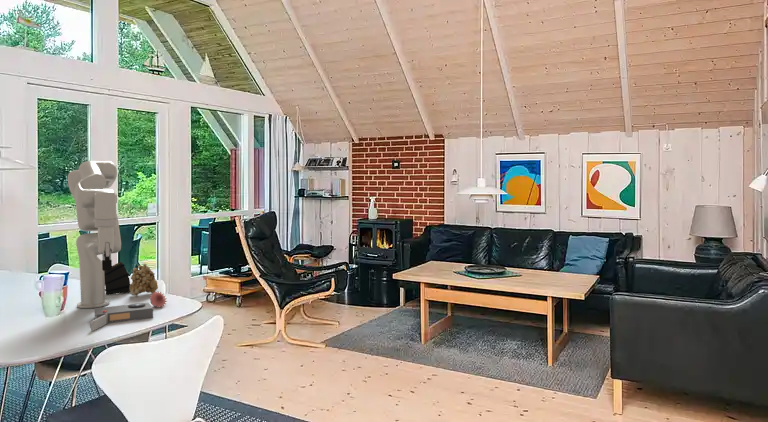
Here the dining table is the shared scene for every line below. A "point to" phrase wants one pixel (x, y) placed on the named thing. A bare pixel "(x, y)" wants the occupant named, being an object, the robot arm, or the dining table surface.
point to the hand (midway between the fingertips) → (107, 270)
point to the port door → (99, 322)
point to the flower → (157, 299)
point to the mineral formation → (143, 281)
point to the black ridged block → (117, 279)
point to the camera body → (125, 312)
